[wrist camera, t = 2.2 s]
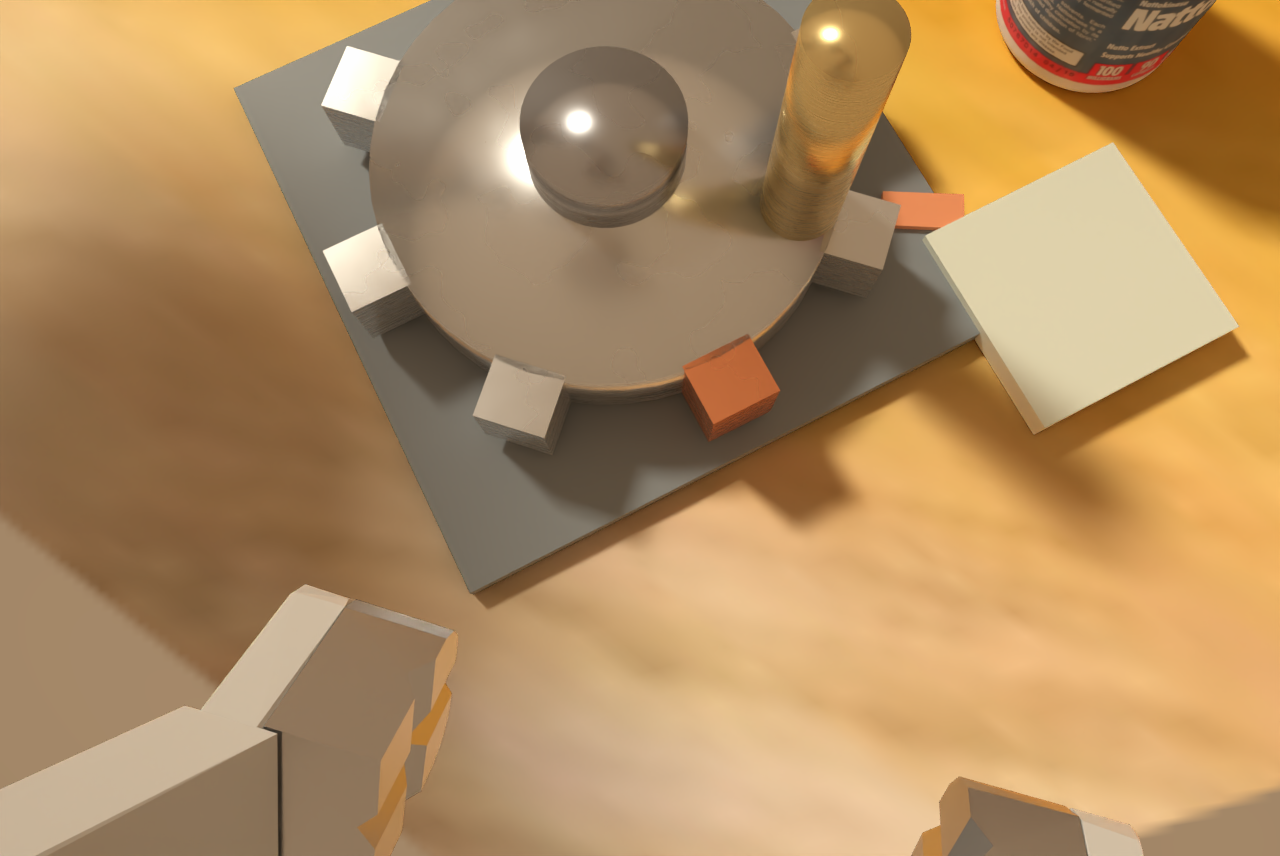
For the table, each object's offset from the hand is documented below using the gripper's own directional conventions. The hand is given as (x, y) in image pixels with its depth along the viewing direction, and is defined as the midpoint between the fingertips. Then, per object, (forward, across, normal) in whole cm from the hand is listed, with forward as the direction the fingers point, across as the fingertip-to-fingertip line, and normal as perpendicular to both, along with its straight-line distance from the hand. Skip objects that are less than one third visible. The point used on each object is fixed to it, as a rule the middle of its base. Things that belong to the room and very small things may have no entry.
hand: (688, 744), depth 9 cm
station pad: (+21, -8, +2) cm, 23 cm away
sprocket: (+20, +5, +3) cm, 21 cm away
